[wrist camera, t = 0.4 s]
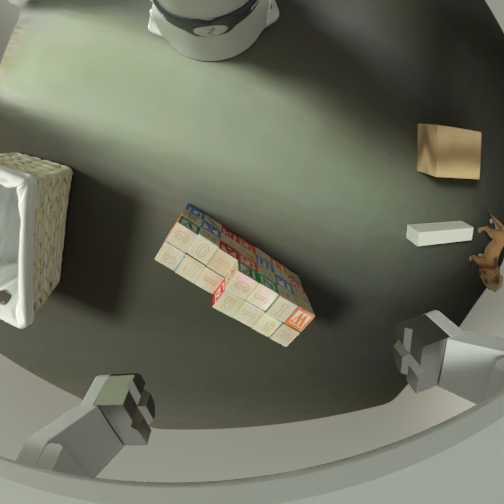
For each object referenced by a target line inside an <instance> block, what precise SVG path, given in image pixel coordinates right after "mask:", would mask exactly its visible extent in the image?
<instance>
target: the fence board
mask: <svg viewBox="0 0 504 504" xmlns="http://www.w3.org/2000/svg"><path fill="white" fill-rule="evenodd" d="M472 235H473V227H472V226H470V225H468V224H466V223H464V222H462V221H451V222H438V223H425V224H412V225H407V235H406V238H407V239H408V240H410V241H411V242H412V243H414V244H415V245H416V246H425V245H434V244H443V243H451V242H460V241H468V240H472Z"/></svg>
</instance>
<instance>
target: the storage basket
mask: <svg viewBox="0 0 504 504" xmlns="http://www.w3.org/2000/svg"><path fill="white" fill-rule="evenodd" d="M72 175H73V172H72V169H71V168H69V167H68V166H65V165H60V164H58V163H54V162H51V161H48V160H41V158H38V157H31V156H29V155H26V154H21V153H4V154H0V291H1V290H3V291H5V292H7V293H9V294H11V295H12V297H11V299H10V301H9V302H8V303H7V304H4V302H3V301H2V302H0V319H1V320H3V321H5V322H7V323H9V324H11V325H13V326H15V327H17V328H20V329H23V328H25V327H27V325H30V324H31V323H32V322H33V321H34V315H35V313H36V312H37V311H38V310H39V308H40V307H41V306H42V304H44V303H45V301H46V299H47V297H48V296H49V295H50V294H51V292H52V290H54V288H55V287H56V286H57V284H58V283H59V281H60V274H61V263H62V252H63V248H64V237H65V222H66V215H67V207H68V200H69V191H70V188H71V179H72Z"/></svg>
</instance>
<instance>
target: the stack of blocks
mask: <svg viewBox="0 0 504 504" xmlns="http://www.w3.org/2000/svg"><path fill="white" fill-rule="evenodd" d="M155 260H156V261H158V262H159V263H161V264H163V265H164V266H166V267H168V268H169V269H171V270H173V271H175V273H177V274H179V275H180V276H182V277H184V278H185V279H187V280H189V281H190V282H192V283H194V284H195V285H197V286H199V287H200V288H202V289H204V290H206V291H208V292H209V293H212V294H213V302H212V307H213V308H215V309H217V310H219V311H221V312H223V313H224V314H226V315H228V316H230V317H233V318H234V319H236V320H238V321H240V322H242V323H244V324H245V325H247V326H249V327H251V328H252V329H254V330H256V331H258V332H259V333H261V334H263V335H265V336H267V337H270V339H272V340H274V341H276V342H278V343H279V344H281V345H283V346H285V347H286V346H288V345H289V344H290V343H291V342H292V341H293V340H294V339H295V338H296V337H297V336H298V335H299V334H300V332H301V331H302V330H303V329H304V328H305V327H306V326H307V325H308V324H309V323H310V322H311V321H312V319H313V318H314V317H315V314H314V312H313V310H312V308H311V305H310V302H309V300H308V298H307V295H306V294H305V292H304V290H303V287H302V285H301V282H300V280H299V278H298V276H297V275H296V274H294V273H293V272H291V271H290V270H288V269H287V268H285V267H284V266H283V265H282V264H280V263H279V262H277V261H276V260H274V259H273V258H271V257H270V256H268V255H267V254H266V253H264V252H263V251H261V250H259V249H258V248H257V247H254V246H252V245H251V244H249V243H247V242H246V241H245V240H243V239H242V238H240V237H238V236H236V235H235V234H233V233H232V232H230V231H229V230H227V229H226V228H224V227H223V226H222V225H221V224H219V223H218V222H216V221H215V220H213V219H212V218H210V217H209V216H207V215H206V214H204V213H202V212H201V211H199V210H198V209H196V208H195V207H193V206H192V205H190V204H187V206H186V207H185V209H184V210H183V212H182V213H181V215H180V216H179V218H178V219H177V221H176V222H175V224H174V225H173V227H172V229H171V230H170V232H169V234H168V236H167V237H166V239H165V241H164V243H163V245H162V247H161V249H160V250H159V252H158V254H157V256H156V257H155Z"/></svg>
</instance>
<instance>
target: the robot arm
mask: <svg viewBox="0 0 504 504" xmlns="http://www.w3.org/2000/svg"><path fill="white" fill-rule="evenodd" d="M150 1H151V2H153V5H152V9H151V10H150V20H149V25H148V28H149V31H150V32H151V33H152V34H153V35H155V36H158V37H161V38H163V39H165V40H167V41H168V42H169V43H170V44H171V45H172V46H173V47H174V48H175V49H176V50H177V51H178V52H180V53H181V54H183V55H185V56H187V57H190V58H192V59H196V60H201V61H219V60H224V59H228V58H231V57H234V56H236V55H238V54H240V53H242V52H243V51H245V50H246V49H248V48H249V47H250V46H251V45H252V44H253V43H254V42H255V41H256V39H257V38H258V36H259V35H260V33H261V32H262V31H263V29H264V28H266V27H267V26H269V25H271V24H272V23H274V22H275V21H277V19H278V18H279V10H278V7H277V4H276V2H275V0H150ZM270 7H271V9H270ZM395 336H396V337H397V338H398V341H397V342H396V344H395V345H394V359H395V363H396V366H397V368H398V369H399V371H400V372H401V373H403V374H406V375H407V382H408V383H409V385H410V386H411V388H412V389H413V390H414V392H415V393H418V392H421V391H424V390H426V389H429V388H432V387H434V386H436V385H438V386H439V387H441V388H443V389H445V390H448V391H450V392H452V393H454V394H456V395H458V396H460V397H463V398H465V399H467V400H469V401H471V402H473V403H475V404H477V405H475V406H473V407H472V408H470V409H468V410H466V411H464V412H462V413H460V414H458V415H457V416H454V417H453V418H451V419H448V420H446V421H444V422H442V423H440V424H438V425H436V426H433V427H431V428H429V429H427V430H424V431H422V432H420V433H417V434H415V435H413V436H410V437H407V438H405V439H402V440H400V441H397V442H395V443H392V444H389V445H386V446H383V447H381V448H378V449H375V450H372V451H368V452H365V453H362V454H359V455H356V456H353V457H349V458H345V459H342V460H338V461H334V462H330V463H327V464H322V465H318V466H314V467H310V468H305V469H301V470H295V471H290V472H284V473H279V474H273V475H266V476H260V477H252V478H244V479H234V480H223V481H209V482H187V483H186V482H185V483H183V482H182V483H162V482H160V483H159V482H136V481H121V480H111V479H102V478H95V477H96V476H97V475H98V474H99V473H100V472H101V471H102V469H103V468H104V467H105V466H106V465H107V464H108V463H109V462H110V461H111V460H112V459H113V458H114V457H115V456H116V454H118V452H119V451H120V450H121V449H122V448H123V447H124V446H123V445H147V444H148V440H149V436H150V432H151V429H150V427H149V426H148V425H149V424H150V423H151V422H152V421H153V420H154V416H155V405H154V401H153V398H152V396H151V394H150V393H149V392H148V391H146V390H145V389H143V388H144V385H145V382H144V380H143V378H142V376H141V375H140V374H138V373H131V374H112V375H110V374H109V375H98V376H96V378H95V379H94V381H93V383H92V385H91V387H90V388H89V390H88V392H87V394H86V396H85V398H84V399H83V401H82V403H81V405H76V406H75V407H73V408H72V409H71V410H69V411H68V412H66V413H65V414H63V415H62V416H61V417H59V418H57V419H56V420H54V421H53V422H52V423H50V424H49V425H47V426H45V427H44V428H42V429H41V430H39V431H38V432H36V433H35V434H33V435H32V436H30V437H29V438H28V439H27V441H26V443H25V445H24V446H23V448H22V450H21V452H20V453H19V455H18V457H17V459H16V461H13V460H10V459H7V458H3V457H0V504H504V338H500V337H495V336H490V335H486V334H482V333H477V332H472V331H468V330H466V331H464V332H463V331H462V330H461V329H460V328H459V327H457V326H456V325H455V324H454V323H453V322H451V321H450V320H449V319H448V318H447V317H445V316H444V315H443V314H442V313H441V312H439V311H437V310H433V311H431V312H428V313H425V314H423V315H421V316H418V317H415V318H412V319H409V320H406V321H403V322H400V323H397V324H396V327H395Z"/></svg>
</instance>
